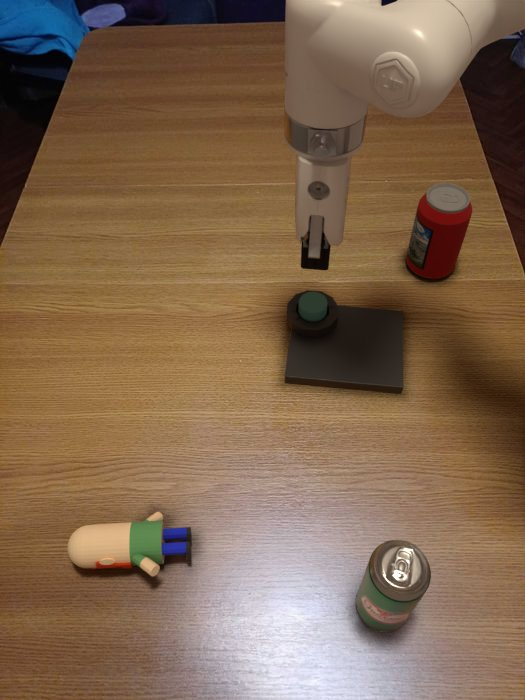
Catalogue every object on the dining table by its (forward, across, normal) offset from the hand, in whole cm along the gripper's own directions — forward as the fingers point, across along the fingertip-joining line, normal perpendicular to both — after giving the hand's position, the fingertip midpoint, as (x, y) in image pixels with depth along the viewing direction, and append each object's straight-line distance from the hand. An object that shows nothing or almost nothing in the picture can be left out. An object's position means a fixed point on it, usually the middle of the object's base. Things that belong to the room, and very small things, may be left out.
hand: (314, 264), depth 71 cm
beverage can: (+11, +12, -16) cm, 23 cm away
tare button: (+8, 0, 0) cm, 8 cm away
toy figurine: (+11, -32, +15) cm, 37 cm away
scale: (+11, -4, -5) cm, 12 cm away
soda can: (+11, -34, -10) cm, 37 cm away
